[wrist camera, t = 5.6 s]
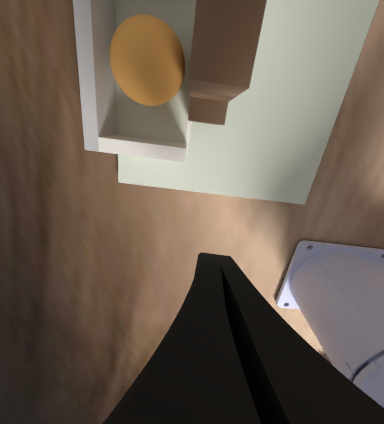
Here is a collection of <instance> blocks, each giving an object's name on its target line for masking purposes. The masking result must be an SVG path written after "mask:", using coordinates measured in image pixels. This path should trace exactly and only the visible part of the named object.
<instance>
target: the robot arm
mask: <svg viewBox="0 0 384 424" xmlns="http://www.w3.org/2000/svg"><path fill="white" fill-rule="evenodd" d="M309 245H311V246H310V247H309V248H307V247H308V246H309ZM276 304H277V306H278V307H282V308H292V309H300V310H301V312H302V314H303V315H304V317H305V319H306V320H307V322H308V324H309V326H310V327H311V329H312V331H313V332H314V334H315V336H316V338H317V339H318V341H319V343H320V345H321V346H322V348H323V350H324V351H325V353H326V355H327V357H328V358H329V360H330V362H331V364H332V365H331V364H330V363H329V362H328V361H327V360H326V359H325V358H324V357H322V356H321V355H320V354H319V353H318V352H317V351H316V350H315V349H314V348H312V347H311V346H310V345H309V344H308V343H307V342H306V341H305V340H304V339H303V338H302V337H301V336H300V335H299V334H298V333H297V332H296V331H295V330H294V329H293V328H292V327H291V326H290V325H289V324H288V323H287V322H286V321H285V320H284V319H283V318H282V317H281V316H280V315H279V314H278V313H277V312H276V311H275V310H274V308H273V307H272V306H271V305H270V304H269V303H268V302H267V301H266V300H265V298H264V297H263V296H262V295H261V294H260V293H259V291H258V290H257V289H256V288H255V287H254V285H253V284H252V283H251V282H250V281H249V279H248V278H247V277H246V275H245V274H244V273H243V272H242V270H241V269H240V268H239V267H238V265H237V264H236V263H235V261H234V260H233V259H232V258H231V256H224V255H216V254H209V253H200V254H199V255H198V260H197V265H196V270H195V275H194V280H193V282H192V285H191V288H190V290H189V292H188V294H187V296H186V298H185V301H184V303H183V305H182V307H181V309H180V311H179V313H178V314H177V316H176V318H175V320H174V322H173V323H172V325H171V327H170V328H169V330H168V332H167V333H166V335H165V337H164V338H163V340H162V341H161V343H160V345H159V346H158V348H157V349H156V351H155V352H154V354H153V355H152V357H151V358H150V360H149V361H148V363H147V364H146V366H145V367H144V369H143V370H142V371H141V373H140V374H139V375H138V377H137V378H136V380H135V381H134V382H133V384H132V385H131V387H130V388H129V389H128V391H127V392H126V393H125V395H124V396H123V398H122V399H121V400H120V402H119V403H118V404H117V406H116V407H115V408H114V410H113V411H112V412H111V414H110V415H109V416H108V417H107V419H106V420H105V421H104V422H103V424H384V249H377V248H368V247H360V246H351V245H342V244H333V243H324V242H315V241H306V240H302V241H300V242H299V243H298V244H297V247H296V250H295V252H294V255H293V257H292V260H291V263H290V265H289V268H288V271H287V273H286V276H285V278H284V281H283V284H282V286H281V289H280V291H279V294H278V297H277V299H276Z"/></svg>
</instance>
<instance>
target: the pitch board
mask: <svg viewBox="0 0 384 424" xmlns="http://www.w3.org/2000/svg"><path fill="white" fill-rule="evenodd" d="M379 1H380V0H267V2H266V7H265V12H264V17H263V22H262V27H261V32H260V37H259V42H258V47H257V52H256V57H255V62H254V67H253V72H252V77H251V82H250V86H249V89H247V90H246V91H244V92H243V93H241V94H240V95H238V96H237V97H235V98H234V99H232V100H231V101H229V102H228V107H227V113H226V119H225V125H214V124H207V123H199V122H192V121H188V115H189V105H190V89H189V80H188V79H189V69H190V59H191V49H192V39H193V29H194V18H195V8H196V0H115V31H116V29H117V28H118V27H119V25H120V24H121V23H122V22H123V21H125V20H126V19H128V18H130V17H132V16H134V15H140V14H146V15H151V16H154V17H156V18H159V19H161V20H162V21H163V22H165V23H166V24H167V25H168V26H169V27H170V28H171V29H172V30H173V31H174V33H175V34H176V36H177V37H178V39H179V41H180V43H181V46H182V49H183V52H184V57H185V75H184V79H183V82H182V85H181V87H180V89H179V91H178V92H177V94H176V95H175V96H174V97H173V98H172V99H171V100H169V101H168V102H166V103H164V104H161V105H157V106H147V105H143V104H140V103H137V102H136V101H134V100H132V99H131V98H130V97H128V96H127V95H126V94H125V93H124V92H123V90H122V89H121V88H120V87H119V85H118V83H117V132H118V135H123V136H131V137H138V138H146V139H154V140H161V141H169V142H177V143H184V144H187V151H186V157H185V161H184V162H177V161H169V160H161V159H153V158H145V157H137V156H129V155H122V154H118V181H119V183H128V184H136V185H144V186H153V187H161V188H169V189H177V190H186V191H194V192H202V193H211V194H219V195H227V196H236V197H244V198H252V199H261V200H269V201H277V202H286V203H294V204H302V205H305V203H306V200H307V197H308V195H309V192H310V189H311V187H312V184H313V181H314V178H315V176H316V173H317V170H318V167H319V165H320V162H321V159H322V156H323V154H324V151H325V148H326V146H327V143H328V140H329V137H330V135H331V132H332V129H333V126H334V124H335V121H336V118H337V116H338V113H339V110H340V107H341V105H342V102H343V99H344V96H345V94H346V91H347V88H348V86H349V83H350V80H351V77H352V75H353V72H354V69H355V66H356V64H357V61H358V58H359V56H360V53H361V50H362V47H363V45H364V42H365V39H366V36H367V34H368V31H369V28H370V26H371V23H372V20H373V17H374V15H375V12H376V9H377V6H378V4H379ZM116 82H117V81H116Z"/></svg>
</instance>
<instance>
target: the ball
mask: <svg viewBox="0 0 384 424" xmlns="http://www.w3.org/2000/svg"><path fill="white" fill-rule="evenodd" d="M110 64H111V69H112V72H113V75H114V77H115V79H116V81H117V83H118V85H119V87H120V88H121V89H122V90H123V92H124V93H125V94H126V95H127V96H128V97H130V98H131V99H132V100H134V101H136V102H137V103H140V104H143V105H147V106H157V105H161V104H164V103H166V102H168V101H169V100H171V99H172V98H173V97H174V96H175V95H176V94H177V92H178V91H179V89H180V87H181V85H182V82H183V79H184V75H185V57H184V52H183V49H182V46H181V43H180V41H179V39H178V37H177V36H176V34H175V33H174V31H173V30H172V29H171V28H170V27H169V26H168V25H167V24H166V23H165V22H163V21H162V20H161V19H159V18H156V17H154V16H151V15H146V14H140V15H134V16H132V17H130V18H128V19H126V20H125V21H123V22H122V23H121V24H120V25H119V27H118V28H117V29H116V31H115V33H114V35H113V38H112V41H111V45H110Z"/></svg>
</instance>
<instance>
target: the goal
mask: <svg viewBox="0 0 384 424" xmlns="http://www.w3.org/2000/svg"><path fill="white" fill-rule="evenodd" d="M73 9H74V21H75V33H76V46H77V58H78V70H79V83H80V95H81V107H82V119H83V132H84V144H85V150H90V151H98V152H106V153H114V154H122V155H129V156H137V157H145V158H153V159H161V160H169V161H177V162H184V161H185V157H186V151H187V144H184V143H177V142H169V141H161V140H154V139H146V138H138V137H131V136H123V135H118V132H117V82H116V79H115V77H114V75H113V72H112V69H111V64H110V45H111V41H112V38H113V35H114V33H115V0H73Z"/></svg>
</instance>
